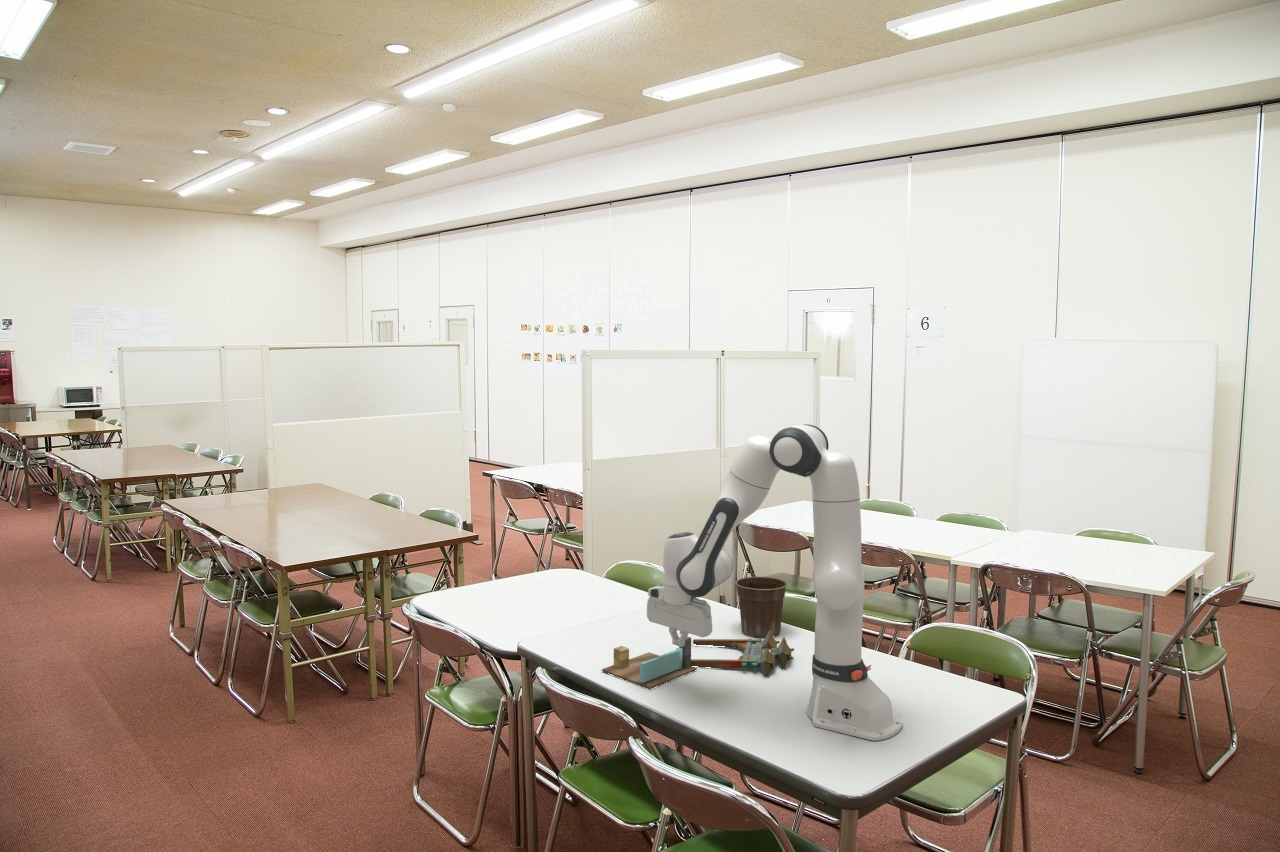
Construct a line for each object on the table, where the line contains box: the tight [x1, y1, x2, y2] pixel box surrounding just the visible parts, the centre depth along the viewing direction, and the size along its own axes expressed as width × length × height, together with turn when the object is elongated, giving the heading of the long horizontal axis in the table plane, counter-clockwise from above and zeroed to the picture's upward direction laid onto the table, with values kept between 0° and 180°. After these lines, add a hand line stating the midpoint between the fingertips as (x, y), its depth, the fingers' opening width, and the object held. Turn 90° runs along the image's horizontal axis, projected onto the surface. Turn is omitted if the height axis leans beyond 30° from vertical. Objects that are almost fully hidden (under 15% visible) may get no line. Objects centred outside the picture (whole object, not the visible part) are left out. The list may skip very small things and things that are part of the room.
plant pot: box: [735, 576, 788, 639], centre depth 264 cm, size 16×16×16 cm
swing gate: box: [640, 647, 682, 683], centre depth 224 cm, size 2×16×5 cm, turn 137°
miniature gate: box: [691, 630, 795, 678], centre depth 240 cm, size 27×6×30 cm
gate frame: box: [601, 636, 698, 690], centre depth 230 cm, size 18×19×9 cm
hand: (678, 645), depth 220 cm, fingers closed
